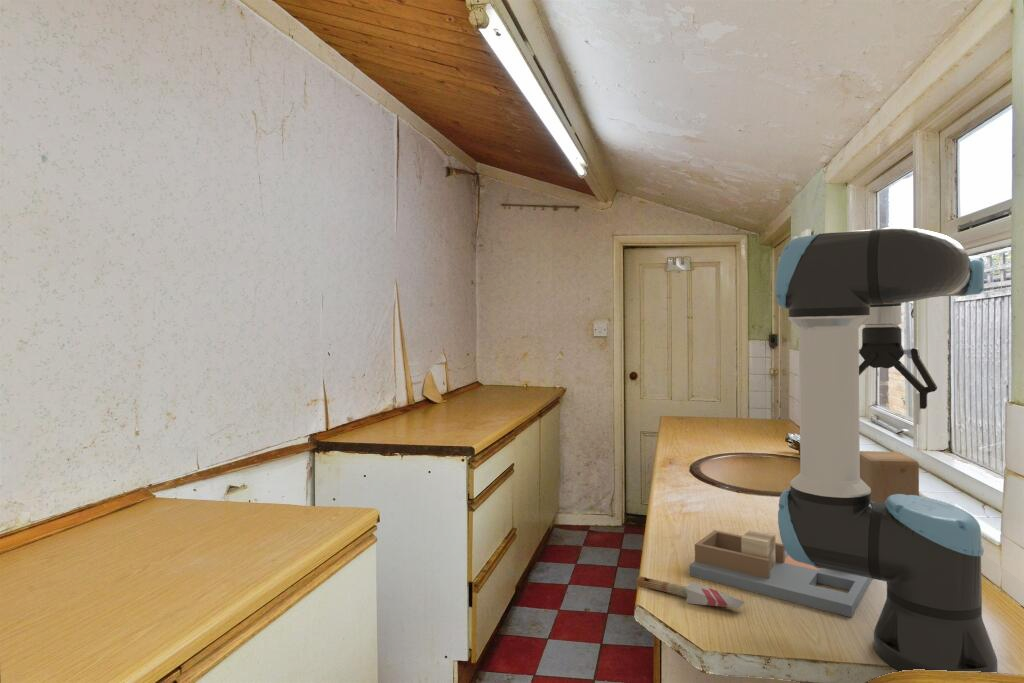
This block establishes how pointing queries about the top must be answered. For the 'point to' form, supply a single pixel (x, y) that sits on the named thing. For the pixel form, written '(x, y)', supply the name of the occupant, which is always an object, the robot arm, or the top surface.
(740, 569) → the slate deck with cubby
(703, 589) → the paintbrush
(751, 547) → the maple cube
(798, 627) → the top surface
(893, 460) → the wooden block
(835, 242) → the robot arm
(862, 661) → the top surface
